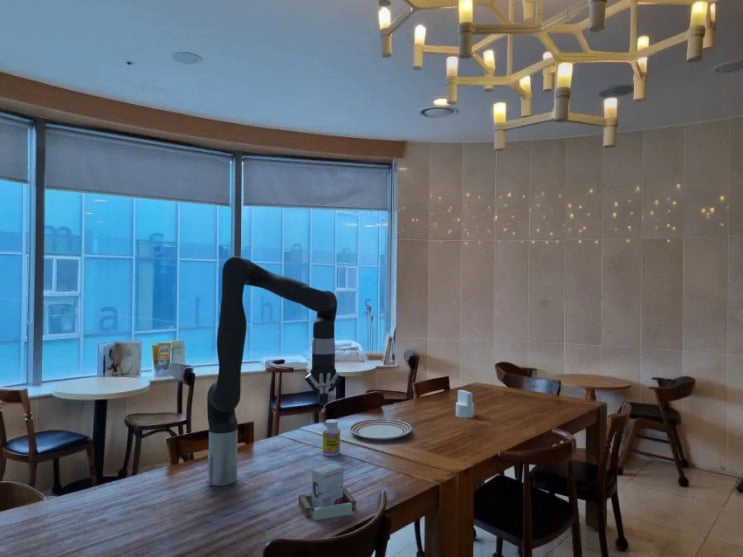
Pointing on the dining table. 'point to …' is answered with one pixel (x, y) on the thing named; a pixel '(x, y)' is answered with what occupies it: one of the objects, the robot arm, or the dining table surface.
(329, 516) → the pale green bar
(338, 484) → the ink box
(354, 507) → the rack bay
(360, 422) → the dinner plate
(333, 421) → the supplement bottle
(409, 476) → the dining table surface
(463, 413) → the base with upright slab
